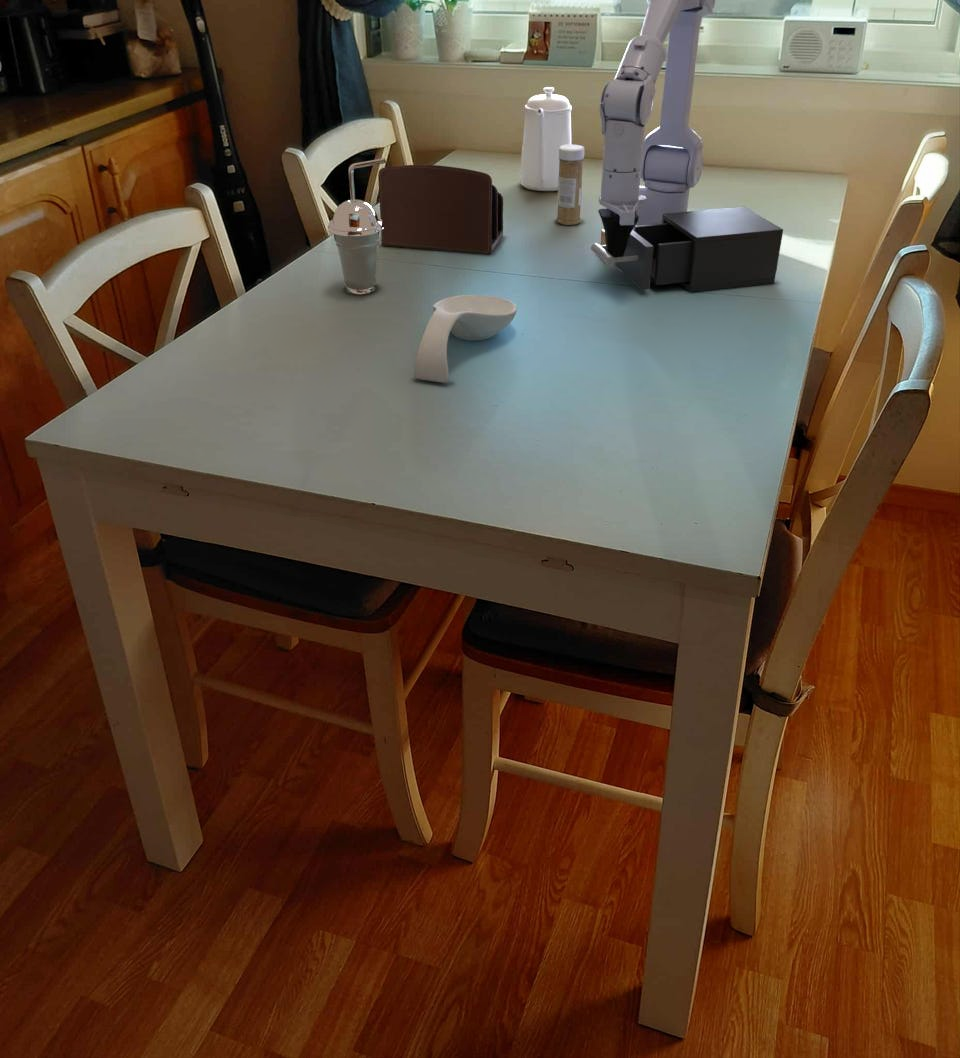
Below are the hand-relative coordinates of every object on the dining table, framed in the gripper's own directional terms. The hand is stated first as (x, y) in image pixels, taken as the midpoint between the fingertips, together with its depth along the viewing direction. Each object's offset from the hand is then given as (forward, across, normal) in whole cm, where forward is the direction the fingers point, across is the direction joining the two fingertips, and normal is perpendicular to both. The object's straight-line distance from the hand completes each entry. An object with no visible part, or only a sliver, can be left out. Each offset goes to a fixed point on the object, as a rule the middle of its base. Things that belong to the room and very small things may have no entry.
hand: (615, 257), depth 153 cm
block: (+4, +12, -3) cm, 13 cm away
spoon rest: (+5, -23, +25) cm, 34 cm away
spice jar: (+5, +33, +3) cm, 33 cm away
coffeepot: (+5, +57, +4) cm, 58 cm away
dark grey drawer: (+4, +1, -6) cm, 8 cm away
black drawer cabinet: (+4, +4, -17) cm, 18 cm away
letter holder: (+5, +23, +26) cm, 35 cm away
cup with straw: (+5, +1, +40) cm, 40 cm away
